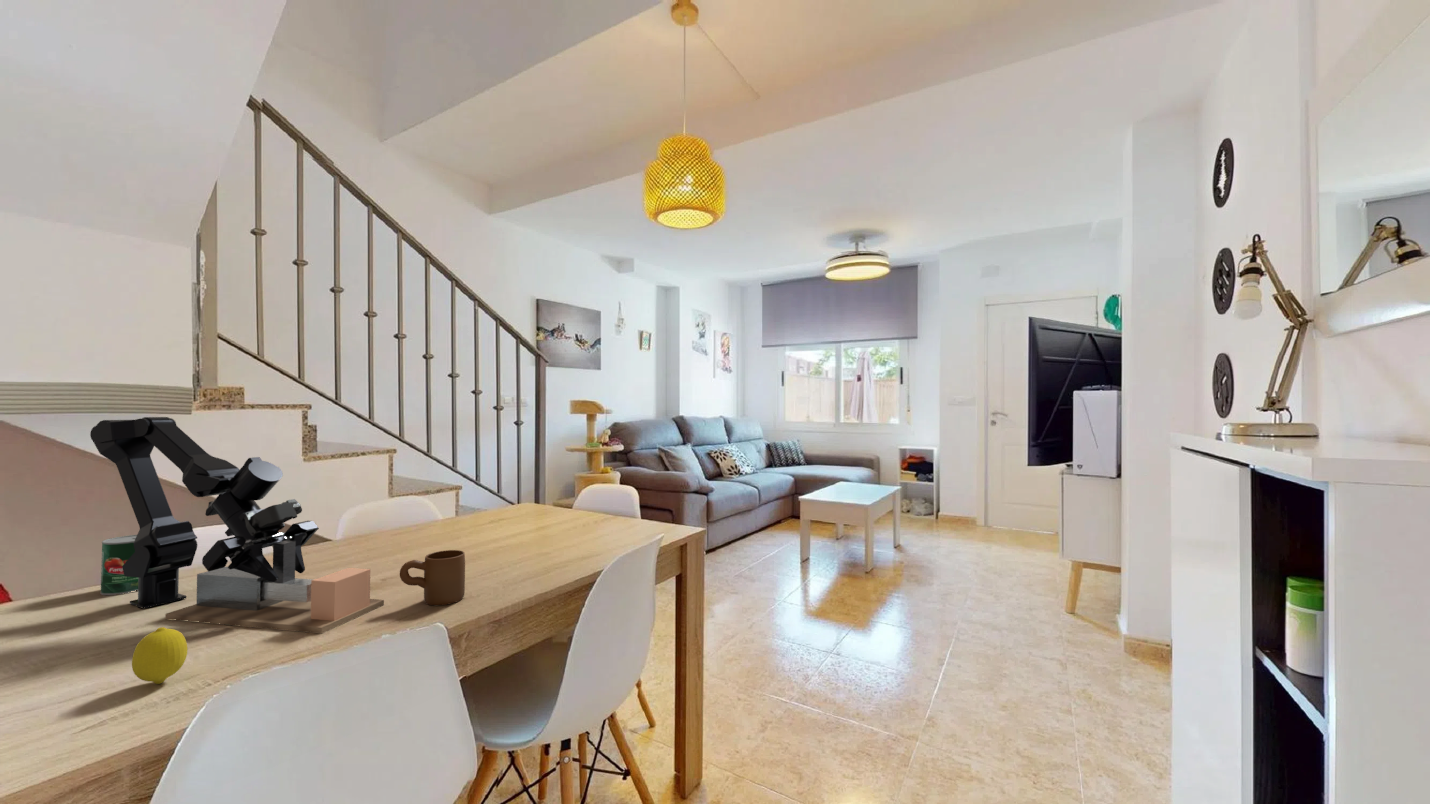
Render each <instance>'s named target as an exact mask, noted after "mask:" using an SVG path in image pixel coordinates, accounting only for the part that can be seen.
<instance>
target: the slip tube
mask: <svg viewBox="0 0 1430 804" xmlns="http://www.w3.org/2000/svg"><path fill="white" fill-rule="evenodd" d="M295 546H296V541H281V542H277V543H273V546H272V568H273V569H274V571H275V572H276V574H277V576H278V579H277V581H275V582H271V581H269V580H266V579H264V580H261V581H260V599H270V600H282V601H295V602H309V601H311V580H314V578H313V579H311V578H309V579H308V578H297V577H296V571H295Z"/></svg>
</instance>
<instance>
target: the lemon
mask: <svg viewBox="0 0 1430 804" xmlns="http://www.w3.org/2000/svg"><path fill="white" fill-rule="evenodd" d="M132 654H133V655H132V659H131V667H132V672H133V673H134V675H135V676H136V677H137V678H138V679H139V680H142V681H144V682H151V683H154V684H155V685H160V684H162V683H164V682H165V681H166V680H167V679H169V678H170V677H171V676H174V675H175V674H176V673H177V672H178V671H179V670H180V669H181V668H182V667H183V666H184V663H185V661H186V660H187V657H188V656H187V655H188V643H187V640H186V637H185V636H184V634H183V633H182V632H180V630H177V629H174V628H166V627H164V626H161V627H158V628H157V629H155V631H152V632H150V633H148V634H146V635H144V637H143V638H142V639H141V640H139V642H138V643H137V645H136V646H135V648H134V651H133V653H132Z"/></svg>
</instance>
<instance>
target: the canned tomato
mask: <svg viewBox="0 0 1430 804" xmlns="http://www.w3.org/2000/svg"><path fill="white" fill-rule="evenodd" d="M136 537H137V534H130V535H122V536H117V537H113V538H111V537H110V538H108V539H104V540H102V541H101V564H100V565H101V572H100V592H99V593H100V595H101V596H117V595H116V594H119V595H124V594H123V593H126V594H129V593H128V592H131V591H135V590H138V577H126V576H124V572H123V568H122V566H123V565H124V564H125V563H126V561H127V560H128V559H129V558H130V557H131V556H132V555H133V553H134V552H135V549H134V541H135V539H136Z"/></svg>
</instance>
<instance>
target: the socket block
mask: <svg viewBox="0 0 1430 804" xmlns="http://www.w3.org/2000/svg"><path fill="white" fill-rule="evenodd" d="M370 599H371V569H369V568H358V567H347V568H343V569H340V570H338V571H335V572H332V573H329V574H326V575H323V576H320V577H317V578H315V579H314V578H313V580H311V619H319V620H330V621H335V620H337V619H340V618H342V617H344V616H346V615H349V614H351V613H353V612H355V611H358V610H360V609H362V608H364V607H367V606H369V605H370Z"/></svg>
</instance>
